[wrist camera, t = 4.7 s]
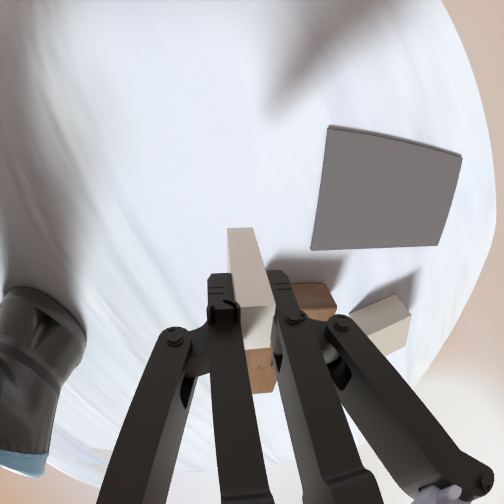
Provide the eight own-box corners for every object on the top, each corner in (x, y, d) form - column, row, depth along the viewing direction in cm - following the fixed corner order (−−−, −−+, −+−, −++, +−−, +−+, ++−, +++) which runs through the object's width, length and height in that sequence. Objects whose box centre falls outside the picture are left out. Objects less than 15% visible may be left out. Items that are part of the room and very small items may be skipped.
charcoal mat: (310, 248, 30) (311, 250, 30) (327, 128, 23) (329, 129, 23) (435, 244, 33) (437, 245, 32) (460, 157, 26) (462, 158, 26)
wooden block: (339, 306, 29) (301, 389, 38) (325, 281, 33) (294, 367, 42) (259, 310, 27) (243, 395, 37) (252, 282, 31) (239, 371, 41)
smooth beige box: (349, 343, 41) (360, 366, 37) (347, 312, 37) (361, 338, 33) (391, 324, 41) (404, 346, 37) (394, 292, 37) (411, 315, 33)
